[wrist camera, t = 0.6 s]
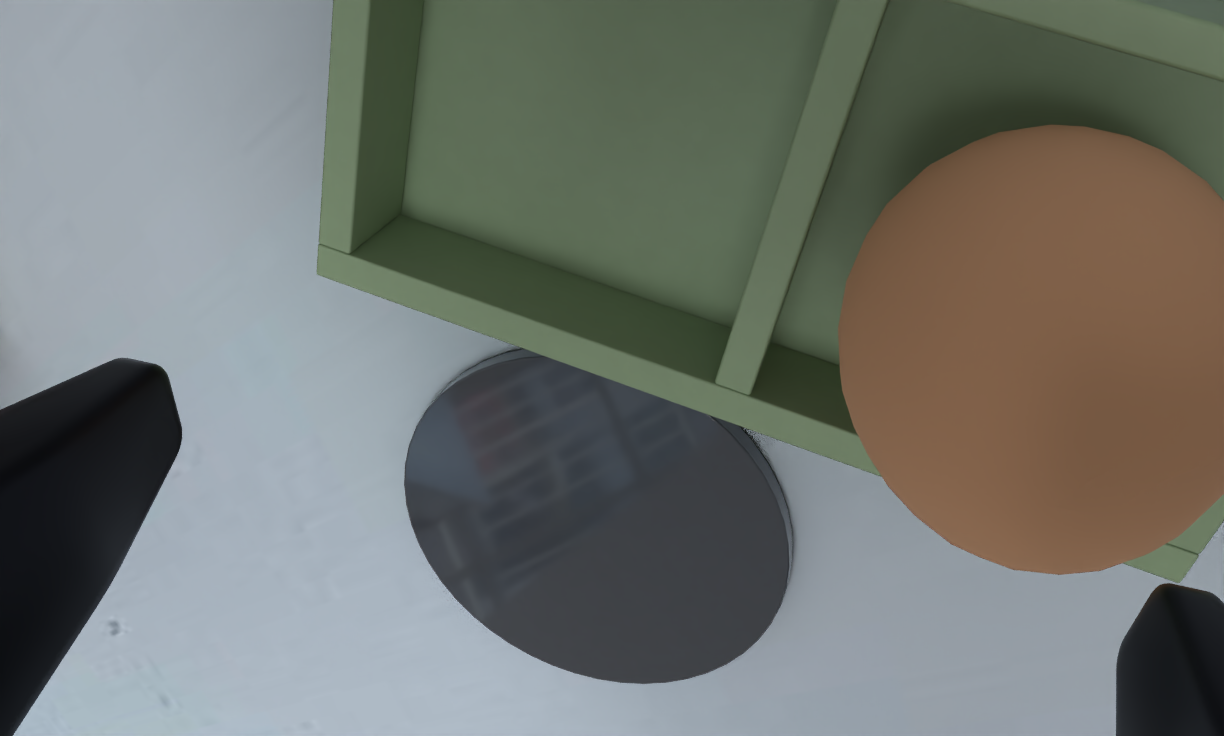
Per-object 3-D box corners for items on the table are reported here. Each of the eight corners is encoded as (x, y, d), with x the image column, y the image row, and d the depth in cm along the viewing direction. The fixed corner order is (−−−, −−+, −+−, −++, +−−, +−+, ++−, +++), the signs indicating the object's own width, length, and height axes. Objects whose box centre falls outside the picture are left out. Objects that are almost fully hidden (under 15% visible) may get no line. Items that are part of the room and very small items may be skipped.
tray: (1162, 502, 24) (1180, 584, 21) (375, 228, 26) (315, 275, 24) (1454, 62, 18) (1521, 109, 16) (417, -228, 21) (344, -224, 18)
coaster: (729, 720, 31) (725, 735, 31) (396, 586, 33) (387, 599, 32) (851, 434, 25) (848, 448, 25) (436, 287, 27) (425, 298, 26)
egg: (900, 46, 20) (843, 225, 13) (1279, 99, 19) (1468, 336, 11) (839, 345, 24) (766, 624, 16) (1155, 409, 22) (1235, 750, 15)
